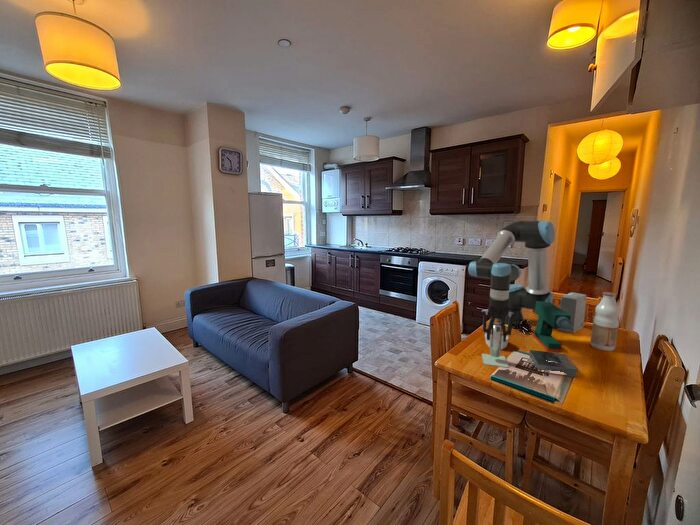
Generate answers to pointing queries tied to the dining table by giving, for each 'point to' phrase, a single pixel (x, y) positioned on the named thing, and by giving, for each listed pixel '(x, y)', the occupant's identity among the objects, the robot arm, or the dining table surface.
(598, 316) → the fruit juice
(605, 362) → the dining table surface
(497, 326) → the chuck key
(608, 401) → the dining table surface
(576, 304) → the hard drive box
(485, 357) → the rubber mat
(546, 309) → the power tool
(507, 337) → the ramekin
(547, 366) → the plate
